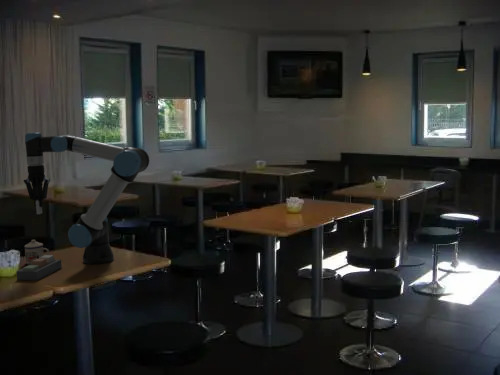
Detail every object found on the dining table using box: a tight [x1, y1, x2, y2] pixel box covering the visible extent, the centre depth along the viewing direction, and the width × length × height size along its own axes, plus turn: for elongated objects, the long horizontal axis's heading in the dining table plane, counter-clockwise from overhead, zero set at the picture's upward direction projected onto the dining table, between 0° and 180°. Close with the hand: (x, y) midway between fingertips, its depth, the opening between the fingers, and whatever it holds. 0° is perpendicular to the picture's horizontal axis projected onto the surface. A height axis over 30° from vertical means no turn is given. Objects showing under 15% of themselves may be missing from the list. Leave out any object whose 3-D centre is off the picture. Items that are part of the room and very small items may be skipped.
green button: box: [22, 264, 39, 271], centre depth 288 cm, size 5×5×4 cm
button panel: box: [16, 259, 62, 281], centre depth 295 cm, size 10×22×4 cm, turn 168°
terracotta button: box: [32, 259, 47, 267], centre depth 295 cm, size 5×5×4 cm
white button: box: [40, 254, 55, 263], centre depth 302 cm, size 5×5×4 cm
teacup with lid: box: [23, 239, 50, 266], centre depth 317 cm, size 12×9×12 cm
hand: (39, 213), depth 305 cm, fingers closed
